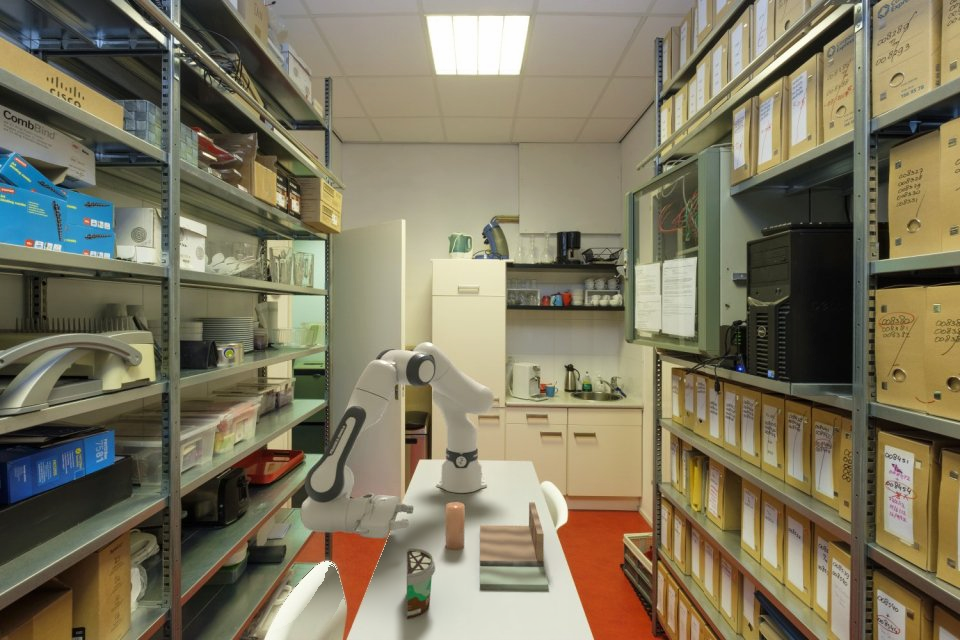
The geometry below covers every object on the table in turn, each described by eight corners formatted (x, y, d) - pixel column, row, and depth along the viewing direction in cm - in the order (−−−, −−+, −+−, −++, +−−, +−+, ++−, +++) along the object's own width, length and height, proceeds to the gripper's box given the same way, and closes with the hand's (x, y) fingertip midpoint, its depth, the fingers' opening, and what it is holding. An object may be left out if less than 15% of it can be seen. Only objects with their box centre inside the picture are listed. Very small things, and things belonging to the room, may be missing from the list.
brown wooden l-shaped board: (480, 532, 139) (480, 501, 139) (534, 532, 139) (534, 502, 139) (479, 589, 110) (480, 550, 110) (548, 589, 110) (548, 551, 110)
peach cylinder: (446, 540, 133) (446, 501, 133) (464, 540, 133) (465, 502, 133) (444, 549, 128) (445, 509, 128) (463, 549, 128) (464, 509, 128)
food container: (436, 620, 98) (437, 573, 98) (407, 623, 97) (407, 575, 97) (433, 587, 110) (433, 544, 110) (406, 589, 109) (406, 546, 109)
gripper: (350, 519, 120) (404, 520, 120) (369, 491, 141) (415, 491, 141) (350, 544, 120) (404, 545, 120) (369, 512, 141) (415, 513, 140)
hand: (410, 516), depth 130 cm, fingers open, 8 cm apart
